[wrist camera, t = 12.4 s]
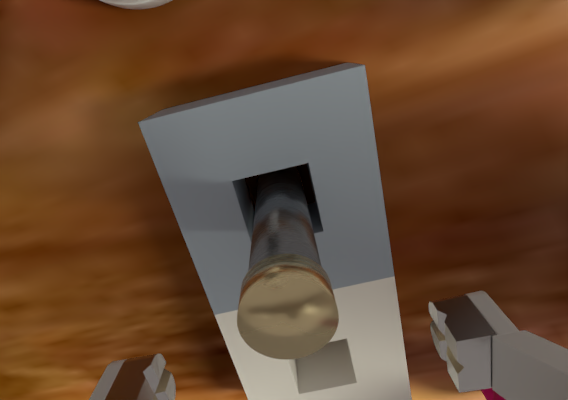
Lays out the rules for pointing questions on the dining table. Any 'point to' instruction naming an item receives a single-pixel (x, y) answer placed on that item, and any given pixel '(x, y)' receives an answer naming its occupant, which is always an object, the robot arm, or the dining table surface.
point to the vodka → (136, 3)
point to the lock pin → (285, 275)
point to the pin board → (323, 213)
